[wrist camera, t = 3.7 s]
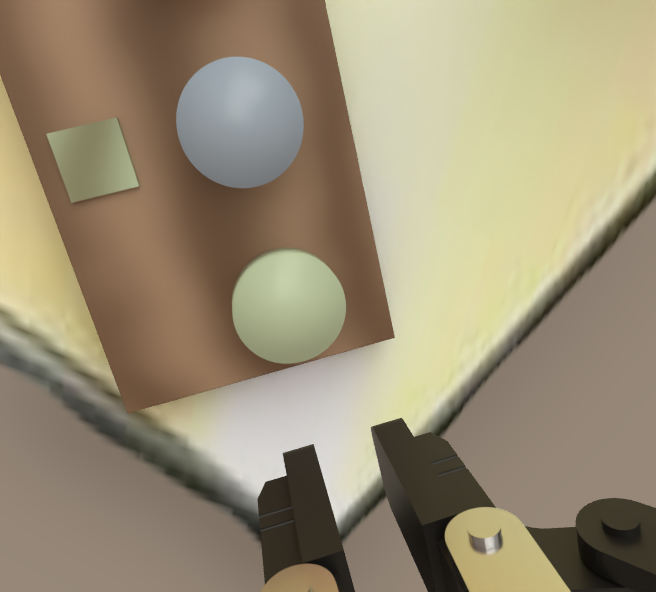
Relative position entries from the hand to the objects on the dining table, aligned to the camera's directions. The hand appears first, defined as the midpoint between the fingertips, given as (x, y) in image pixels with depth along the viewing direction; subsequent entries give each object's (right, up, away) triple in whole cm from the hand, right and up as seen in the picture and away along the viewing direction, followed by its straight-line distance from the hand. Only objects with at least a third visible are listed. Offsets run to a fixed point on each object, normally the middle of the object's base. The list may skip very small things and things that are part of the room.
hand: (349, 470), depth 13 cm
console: (-7, +12, +15) cm, 21 cm away
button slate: (-4, +11, +11) cm, 16 cm away
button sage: (-2, +4, +14) cm, 14 cm away
